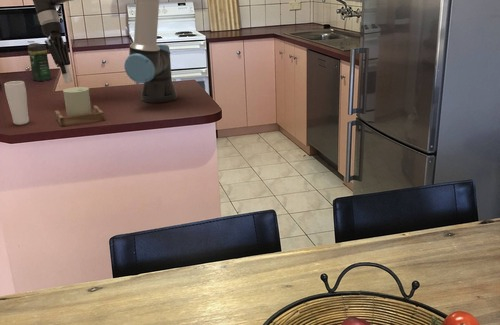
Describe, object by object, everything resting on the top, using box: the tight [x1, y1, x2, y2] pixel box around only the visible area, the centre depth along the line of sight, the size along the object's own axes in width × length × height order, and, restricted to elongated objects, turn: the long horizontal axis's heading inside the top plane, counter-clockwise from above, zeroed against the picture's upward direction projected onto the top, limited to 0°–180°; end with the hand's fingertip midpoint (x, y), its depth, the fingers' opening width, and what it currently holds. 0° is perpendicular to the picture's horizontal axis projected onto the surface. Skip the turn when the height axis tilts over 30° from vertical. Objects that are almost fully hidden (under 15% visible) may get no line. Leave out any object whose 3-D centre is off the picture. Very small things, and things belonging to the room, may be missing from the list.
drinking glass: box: [3, 80, 30, 126], centre depth 188 cm, size 7×7×15 cm
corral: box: [54, 104, 106, 128], centre depth 194 cm, size 13×15×3 cm
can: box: [62, 86, 93, 117], centre depth 192 cm, size 9×9×12 cm
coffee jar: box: [27, 42, 52, 82], centre depth 264 cm, size 10×8×19 cm
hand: (68, 81), depth 206 cm, fingers closed
